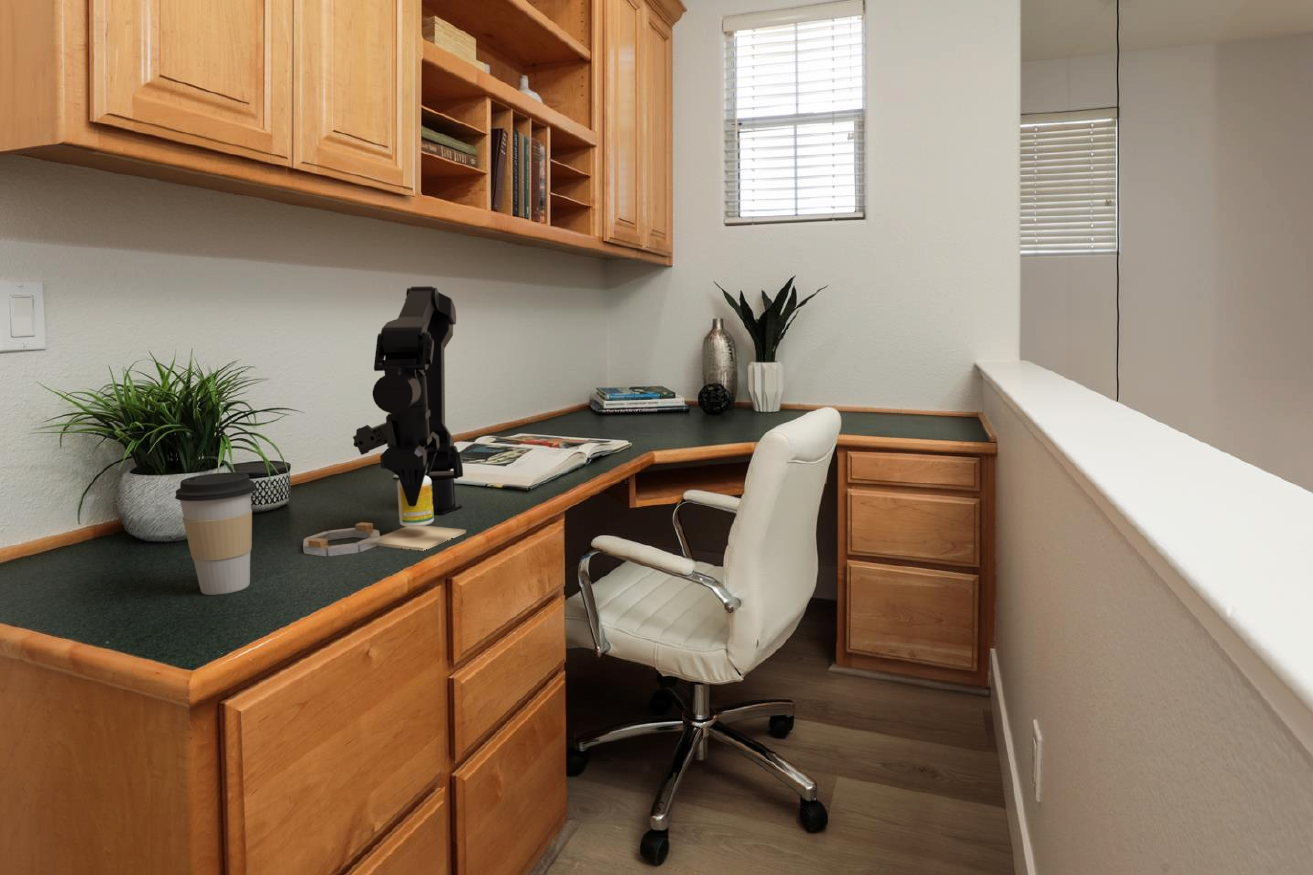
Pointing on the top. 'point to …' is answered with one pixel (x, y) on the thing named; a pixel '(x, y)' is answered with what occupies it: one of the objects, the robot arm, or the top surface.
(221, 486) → the coffee cup
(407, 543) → the coaster
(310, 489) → the top surface
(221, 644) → the top surface
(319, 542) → the grey octagonal ring
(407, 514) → the supplement bottle
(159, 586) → the top surface
